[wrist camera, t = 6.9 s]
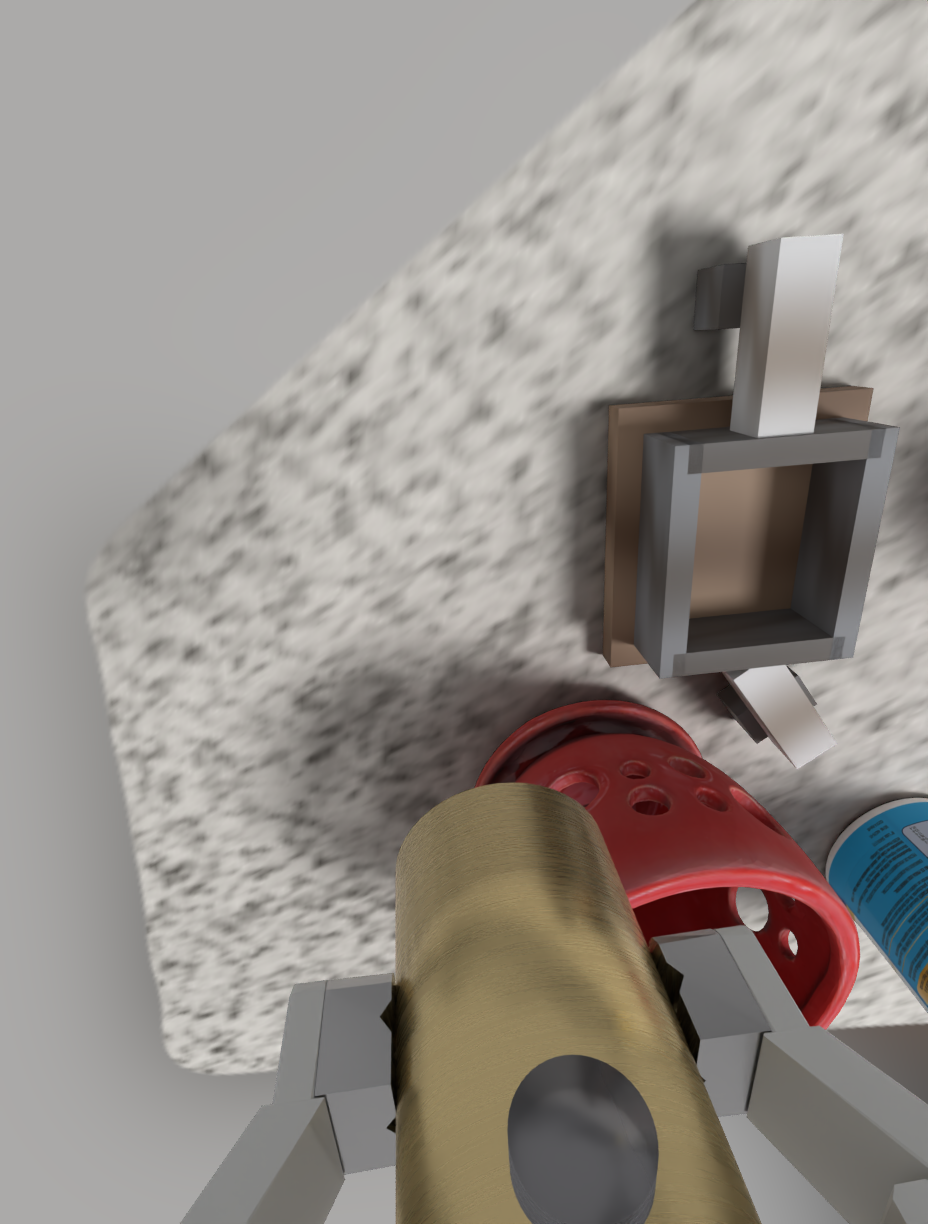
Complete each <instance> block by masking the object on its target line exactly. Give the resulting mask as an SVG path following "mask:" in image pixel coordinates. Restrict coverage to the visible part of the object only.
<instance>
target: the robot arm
mask: <svg viewBox="0 0 928 1224" xmlns="http://www.w3.org/2000/svg"><path fill="white" fill-rule="evenodd" d="M648 948H649V951H650V953H651V956H652V958H653V960H654V963H655V965H656V968H657V970H658V973H659V975H660V977H661V980H662V982H663V985H664V987H665V990H666V992H667V995H668V997H669V999H670V1002H671V1004H672V1007H673V1009H674V1012H675V1014H676V1016H677V1019H678V1021H679V1024H680V1026H681V1029H682V1031H683V1034H684V1036H685V1038H686V1041H687V1043H688V1046H689V1048H690V1051H691V1053H692V1055H693V1058H694V1060H695V1063H696V1065H697V1068H698V1070H699V1073H700V1075H701V1077H702V1080H703V1082H704V1085H705V1087H706V1090H707V1092H708V1094H709V1097H710V1099H711V1102H712V1104H713V1107H714V1109H715V1111H716V1114H717V1116H718V1117H721V1116H730V1115H739V1114H747V1118H748V1119H749V1120H750V1121H751V1122H752V1123H753V1124H754V1125H755V1126H756V1127H757V1128H758V1130H759V1131H760V1132H761V1133H762V1134H763V1135H764V1136H765V1137H766V1138H767V1139H768V1140H769V1141H770V1142H771V1143H772V1144H773V1145H774V1146H775V1147H776V1148H777V1149H778V1150H779V1151H780V1152H781V1153H782V1155H783V1156H784V1157H785V1158H786V1159H787V1160H788V1161H789V1162H790V1163H791V1164H792V1165H793V1166H794V1167H795V1168H796V1169H797V1170H798V1171H799V1172H800V1173H801V1174H802V1175H803V1176H804V1177H805V1178H806V1179H807V1180H808V1181H809V1183H810V1184H811V1185H812V1186H813V1187H814V1188H815V1189H816V1190H817V1191H818V1192H819V1193H820V1194H821V1195H822V1196H823V1197H824V1198H825V1199H826V1200H827V1201H828V1202H829V1203H830V1204H831V1205H832V1206H833V1208H834V1209H835V1210H836V1211H837V1212H838V1213H839V1214H840V1215H841V1216H842V1217H843V1218H844V1219H845V1220H846V1221H847V1222H848V1223H849V1224H928V1105H927V1104H926V1103H925V1102H923V1101H922V1100H921V1099H919V1098H918V1097H917V1096H915V1095H913V1094H912V1093H911V1092H910V1091H908V1090H907V1089H905V1088H904V1087H903V1086H901V1085H900V1084H899V1083H897V1082H896V1081H895V1080H893V1079H892V1078H891V1077H889V1076H888V1075H886V1074H885V1073H884V1072H882V1071H881V1070H880V1069H878V1068H877V1067H875V1066H874V1065H873V1064H871V1063H870V1062H869V1061H867V1060H866V1059H864V1058H863V1057H862V1056H860V1055H859V1054H858V1053H856V1052H855V1051H853V1050H852V1049H851V1048H850V1047H848V1046H847V1045H845V1044H844V1043H843V1042H841V1041H840V1040H839V1039H837V1038H836V1037H834V1036H833V1035H832V1034H830V1033H829V1032H828V1031H826V1030H825V1029H824V1028H822V1027H821V1026H809V1024H808V1023H807V1021H806V1019H805V1018H804V1016H803V1015H802V1013H801V1011H800V1010H799V1008H798V1006H797V1005H796V1003H795V1001H794V1000H793V998H792V996H791V995H790V993H789V991H788V990H787V988H786V986H785V985H784V983H783V981H782V980H781V978H780V976H779V975H778V973H777V971H776V970H775V968H774V966H773V965H772V963H771V961H770V960H769V958H768V957H767V955H766V953H765V952H764V950H763V948H762V947H761V945H760V943H759V942H758V940H757V938H756V937H755V935H754V933H753V932H752V931H751V930H750V929H749V928H748V927H747V926H746V925H739V926H732V927H726V928H719V929H713V930H712V929H704V930H698V931H691V932H684V933H678V934H671V935H665V936H658V937H652V938H651V940H650V941H649V947H648ZM395 1165H396V983H395V978H394V973H388V974H379V975H370V976H361V977H352V978H343V979H334V980H323V981H316V982H308V983H300V984H294V986H293V989H292V992H291V994H290V997H289V1003H288V1010H287V1016H286V1022H285V1028H284V1034H283V1041H282V1047H281V1053H280V1059H279V1066H278V1072H277V1078H276V1084H275V1091H274V1097H273V1103H272V1104H270V1105H264V1106H261V1108H260V1109H259V1111H258V1112H257V1114H256V1115H255V1116H254V1118H253V1119H252V1121H251V1122H250V1124H249V1125H248V1126H247V1128H246V1129H245V1131H244V1132H243V1134H242V1135H241V1137H240V1138H239V1140H238V1141H237V1142H236V1144H235V1145H234V1147H233V1148H232V1149H231V1151H230V1152H229V1154H228V1155H227V1157H226V1158H225V1160H224V1161H223V1162H222V1164H221V1165H220V1167H219V1168H218V1170H217V1171H216V1173H215V1174H214V1175H213V1177H212V1179H211V1180H210V1181H209V1183H208V1184H207V1186H206V1187H205V1188H204V1190H203V1191H202V1193H201V1194H200V1196H199V1197H198V1198H197V1200H196V1201H195V1203H194V1204H193V1206H192V1207H191V1208H190V1210H189V1211H188V1213H187V1214H186V1216H185V1217H184V1219H183V1220H182V1221H181V1223H180V1224H324V1222H325V1220H326V1218H327V1216H328V1214H329V1212H330V1210H331V1208H332V1206H333V1204H334V1201H335V1199H336V1197H337V1195H338V1193H339V1191H340V1189H341V1187H342V1185H343V1183H344V1180H345V1178H344V1175H346V1174H351V1173H357V1172H362V1171H368V1170H373V1169H378V1168H384V1167H389V1166H395Z"/></svg>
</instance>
